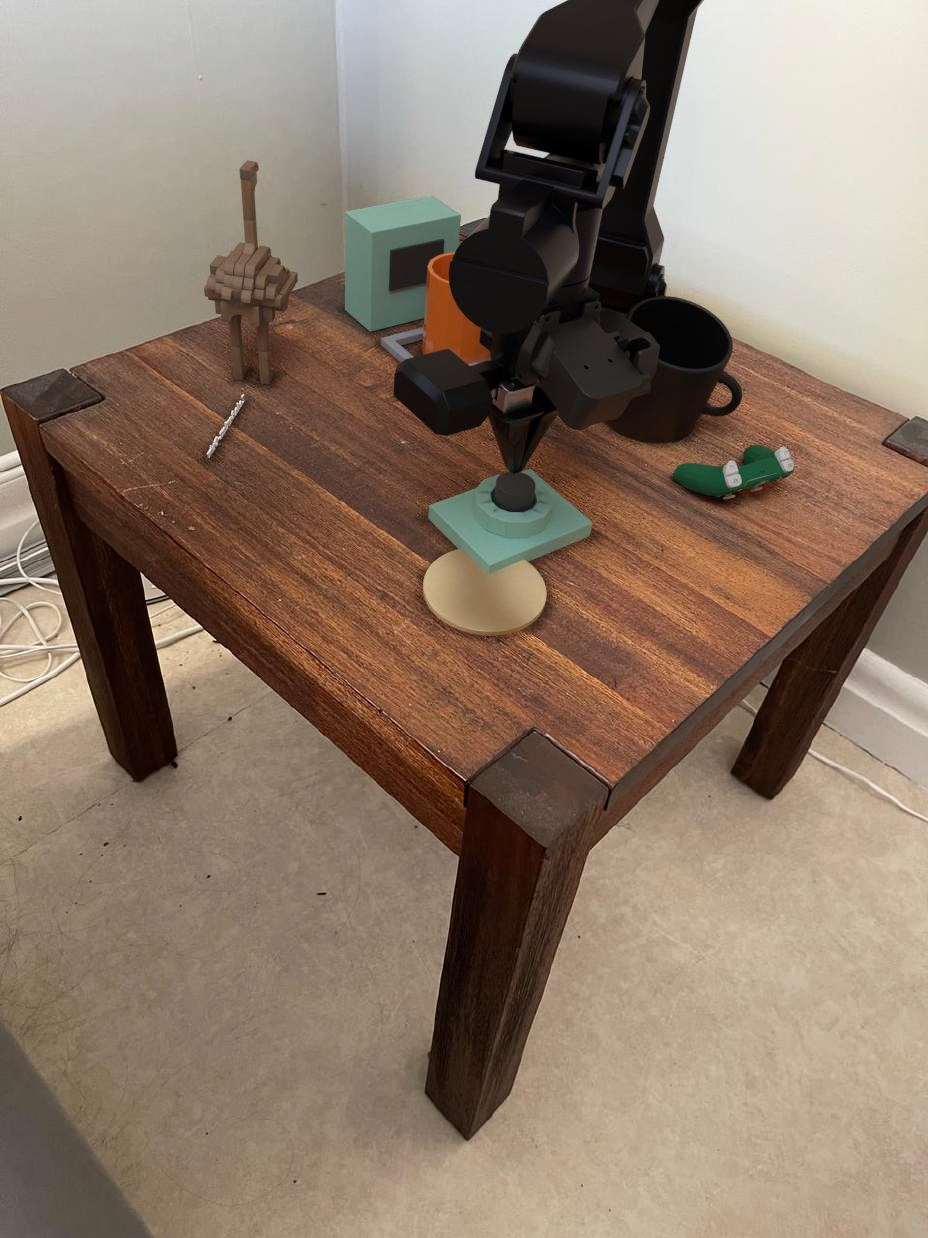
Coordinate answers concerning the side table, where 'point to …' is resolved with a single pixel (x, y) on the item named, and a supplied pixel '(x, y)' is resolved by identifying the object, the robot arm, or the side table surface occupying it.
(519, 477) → the stop button
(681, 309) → the mug
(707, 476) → the gaming controller
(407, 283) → the mint block with tray
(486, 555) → the button base
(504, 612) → the coaster
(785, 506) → the side table surface
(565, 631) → the side table surface
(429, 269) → the cup
